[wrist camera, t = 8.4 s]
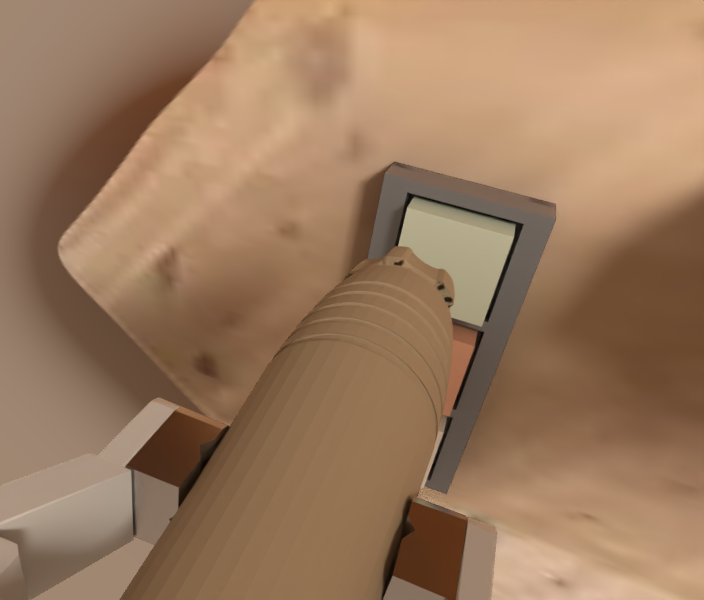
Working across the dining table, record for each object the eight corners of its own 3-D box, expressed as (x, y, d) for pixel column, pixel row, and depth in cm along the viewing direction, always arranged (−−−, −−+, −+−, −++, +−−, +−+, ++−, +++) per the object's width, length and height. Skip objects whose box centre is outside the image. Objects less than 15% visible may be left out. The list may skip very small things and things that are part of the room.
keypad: (394, 161, 36) (384, 173, 33) (555, 203, 34) (556, 218, 32) (337, 430, 49) (327, 451, 47) (451, 470, 47) (446, 494, 45)
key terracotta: (389, 301, 39) (381, 317, 37) (478, 328, 38) (474, 346, 36) (372, 370, 42) (364, 388, 40) (453, 397, 41) (449, 416, 39)
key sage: (414, 195, 34) (407, 207, 33) (515, 223, 33) (514, 237, 32) (393, 282, 38) (385, 297, 36) (484, 309, 37) (481, 326, 35)
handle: (429, 161, 15) (-292, 1189, 2) (524, 355, 16) (447, 1509, 4) (288, 230, 17) (-461, 915, 4) (386, 393, 19) (59, 1200, 6)
